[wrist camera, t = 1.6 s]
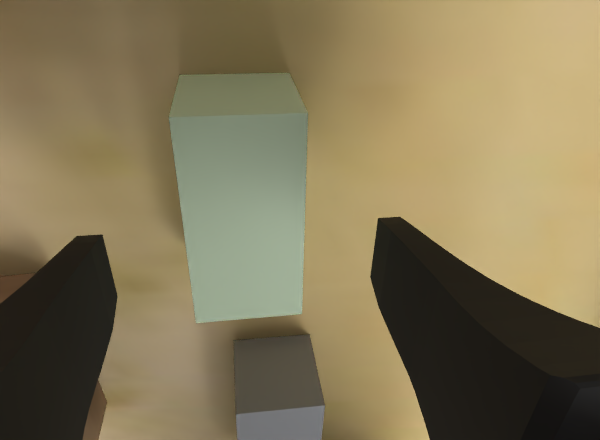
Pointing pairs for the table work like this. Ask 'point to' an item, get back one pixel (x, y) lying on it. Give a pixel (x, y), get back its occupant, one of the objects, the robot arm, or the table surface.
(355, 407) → the table surface
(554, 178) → the table surface
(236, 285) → the sage brick
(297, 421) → the gray brick
